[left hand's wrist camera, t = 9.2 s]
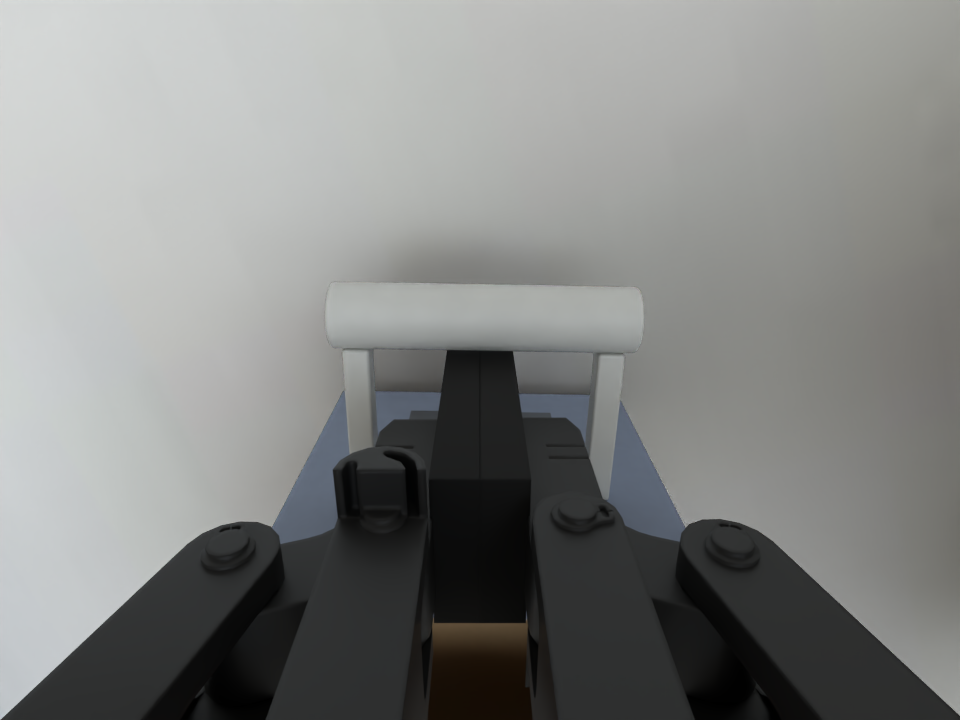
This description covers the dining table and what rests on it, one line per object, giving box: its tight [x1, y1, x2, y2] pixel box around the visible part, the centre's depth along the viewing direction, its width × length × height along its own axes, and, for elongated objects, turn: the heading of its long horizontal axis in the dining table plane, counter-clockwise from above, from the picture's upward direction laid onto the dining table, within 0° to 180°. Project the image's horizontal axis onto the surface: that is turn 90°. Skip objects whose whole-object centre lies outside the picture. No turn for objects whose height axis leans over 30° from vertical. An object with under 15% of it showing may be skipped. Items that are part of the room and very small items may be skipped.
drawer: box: [272, 282, 685, 720], centre depth 18 cm, size 25×9×9 cm, turn 179°
